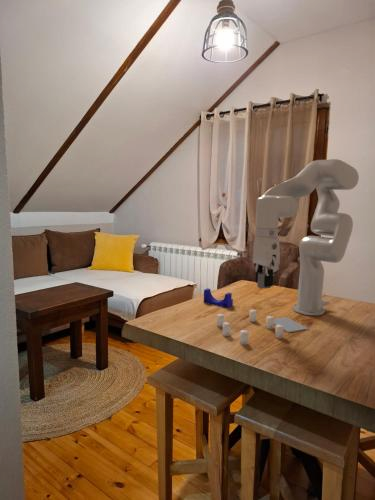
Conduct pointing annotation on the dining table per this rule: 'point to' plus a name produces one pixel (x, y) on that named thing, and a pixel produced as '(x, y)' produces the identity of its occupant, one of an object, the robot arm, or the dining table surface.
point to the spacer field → (244, 332)
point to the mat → (289, 325)
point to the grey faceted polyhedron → (261, 280)
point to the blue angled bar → (224, 303)
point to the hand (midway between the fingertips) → (263, 283)
